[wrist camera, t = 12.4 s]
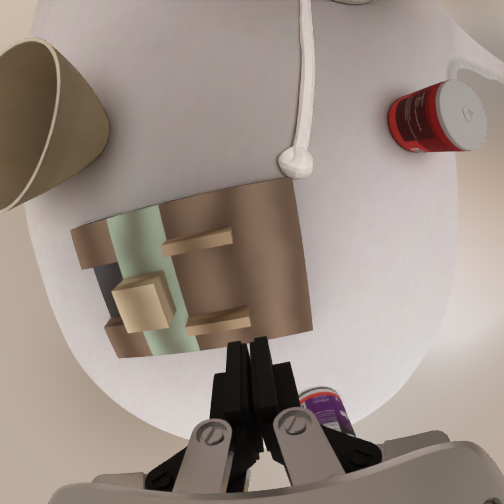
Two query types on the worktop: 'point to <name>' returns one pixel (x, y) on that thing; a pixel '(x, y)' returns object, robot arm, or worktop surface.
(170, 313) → the block
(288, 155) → the white knobbed rod
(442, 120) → the canned food
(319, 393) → the pill bottle
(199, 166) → the worktop surface
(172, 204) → the wooden block puzzle
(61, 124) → the plant pot
